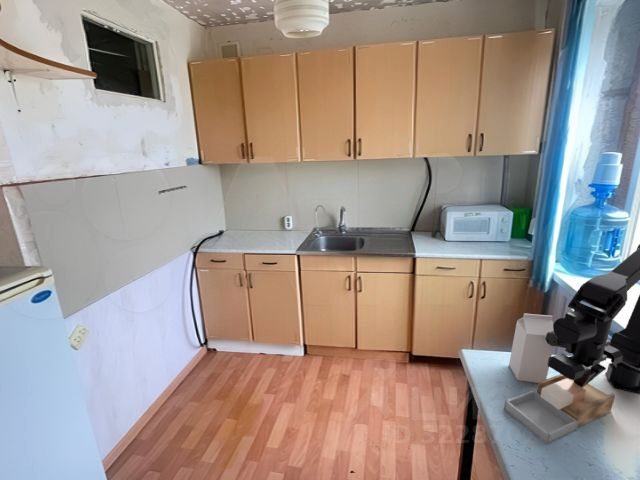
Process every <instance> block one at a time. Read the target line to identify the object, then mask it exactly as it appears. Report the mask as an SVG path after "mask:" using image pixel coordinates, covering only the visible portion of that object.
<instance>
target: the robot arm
mask: <svg viewBox="0 0 640 480" xmlns="http://www.w3.org/2000/svg"><path fill="white" fill-rule="evenodd" d="M638 282H640V243H639V244H638V245H637V248H636V250H635V251H634V252H632V253H631V254H629V256H628V257H626V258H625V259H624V260H623V261H621V262H620V263H619V264H618V265H617V266H616V267H614V268H613V269H612V270H611V271H609V272H608V273H605V274H598V275H595V276H593V277H592V278H590V279H588V280H587V281H585V282H583V284H581V285H580V287H579V289H578V290H577V292H576V293H575V294H574V295H573V298H572V299H571V300H570V302H569V303H568V305H567V307H568V308H570V309H572V310H573V312H566V313H565V315H564V316H563V317H560V318H558V319H556V320H555V322H553V330H554V331H551V332H548V333H547V334H546V335H547V336H546V338H545V340H546V342H547V343H548V344H549V345H551V346H554V347H558V348H563V349H564V351H565V352H566V353H568V354H572V355H570V356H569V355H567V354H564V353H560V354H555V355H552V356H551V357H549V359H548V363H547V365H548V366H549V369H550V368H551V369H552V370H554V371H555V372H557V373H559V375H560V374H562V375H564V376H565V377H567V378H569V379H571V380H574V383H575V384H577V385H579V386H580V387H582V388H583V387H584V386H586V385H587V384H590V382H591V381H593V380H594V379H595V378H596V377H598V376H599V375H600V374H601V373H603V372H604V371H605V377H606V378H607V380H608V382H609V383H610V384H611V386H612V388H615V389H618V390H623V391H627V392H632V393H635V394H636V393H637V394H640V294H639V295H638V297H637V300H636V301H635V305H634V307H633V309H632V312H631V315H630V316H629V319H628V322H627V324H626V326H625V327H624V328H623V329H621V330H620V331H618V332H616V331H615V332H614V333H612V337H611V339H608V337H609V334H610V330H611V326H612V323H613V320H614V319H615V318H616V316H617V315H618V314H619V313H620V311H621V310H622V309H623V308H624V307H625V306H626V303H627V302H628V292H629V290H630V289H632V288H633V287H634V286H635V285H636V284H637V283H638ZM581 302H583V303H581ZM584 303H585V304H584ZM586 304H587V305H586ZM621 312H622V311H621ZM607 359H609V360H610V363H608V365H607V368H606V367H605V366H603V365H602V364H601V363H602V362H604V361H607Z"/></svg>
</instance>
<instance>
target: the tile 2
mask: <svg viewBox="0 0 640 480" xmlns="http://www.w3.org/2000/svg"><path fill="white" fill-rule="evenodd" d="M556 384H558V385H559V386H561V387H562V388H564V389H565V390H567V391H568V392H570V393H571V394H573V395H574V396H573V401H572V403H574V402H577V401H579V400H582V399H584V397H585V393H586V390H585V389H584V388H582V387H580V386H579V385H577V384H575V383H574V382H572V381H571V380H569V379H564V380H561V381H559V382H556Z"/></svg>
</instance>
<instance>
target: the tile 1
mask: <svg viewBox="0 0 640 480" xmlns="http://www.w3.org/2000/svg"><path fill="white" fill-rule="evenodd" d="M573 396H574V395H573V394H571V393H570V392H568V391H567V390H565V389H564V388H562V387H561V386H559V385H558V384H556V383H553V384H551V385H549V386H546V387H544V388H542V391H541V397H542V398H543V399H544V400H546V401H547V402H549V403H550V404H551V405H553V406H554V407H556V408H557V409H558V410H559V409H561V408H564V407H566V406H568V405H570V404H572V401H573Z"/></svg>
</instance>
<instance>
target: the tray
mask: <svg viewBox="0 0 640 480" xmlns="http://www.w3.org/2000/svg"><path fill="white" fill-rule="evenodd" d="M503 406H504V407H503V410H504V411H506V412H507V413H508V414H509V415H510V416H512V417H513V419H515V420H516V421H518V422H519V424H521V423H522V424H523V425H522V426H524V428H526V427H527V428H528V429H527V428H526V429H527V430H529V431H530V430H531V431H532V432H533V433H534V436H536V437H537V436H538V437H539V438H540V439H539V438H538V437H537V438H538V439H539V440H541V442H543V443H544V444H545V445H548V444H550V443H552V442H555V441H557V440H560V439H561V438H563V437H566V436H567V435H570V434H572V433H574V432H576V431H577V430H578V427H577V426H578V423H579V422H578V421H577V420H575V419H574V418H573V417H571V416H570V415H568V414H567V413H565V412H564V411H563V410H561V409H559V410H558V409H557V408H556V407H554V406H553V405H551V404H550V403H549V402H547V401H546V400H544V399H543V398H542V397H541V395H540V394H538V393H537V390H531V391H527V392H524V393H523V394H519V395H517V396H514V397H512V398H508V399H505V401H504V405H503ZM531 431H530V432H531ZM532 432H531V433H532ZM533 433H532V434H533Z"/></svg>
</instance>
